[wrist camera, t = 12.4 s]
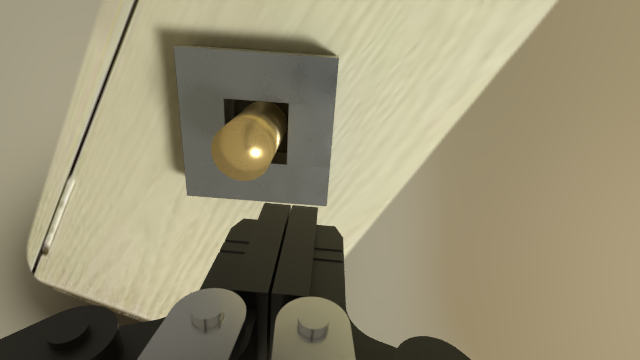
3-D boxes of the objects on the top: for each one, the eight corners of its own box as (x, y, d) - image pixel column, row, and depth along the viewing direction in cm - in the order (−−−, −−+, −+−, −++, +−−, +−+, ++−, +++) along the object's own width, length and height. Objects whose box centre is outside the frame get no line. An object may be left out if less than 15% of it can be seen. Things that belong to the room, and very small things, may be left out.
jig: (189, 45, 28) (173, 46, 25) (338, 55, 28) (338, 58, 25) (199, 181, 33) (187, 195, 30) (327, 191, 32) (326, 206, 30)
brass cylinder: (239, 99, 29) (208, 121, 22) (286, 101, 29) (270, 124, 22) (242, 145, 31) (214, 179, 24) (286, 146, 31) (272, 182, 24)
